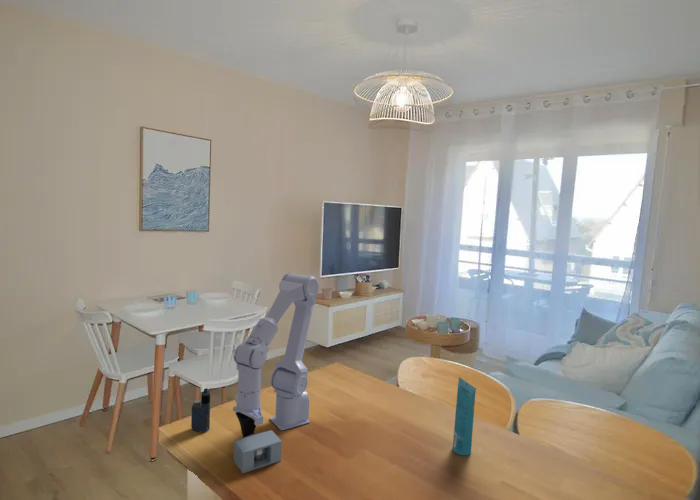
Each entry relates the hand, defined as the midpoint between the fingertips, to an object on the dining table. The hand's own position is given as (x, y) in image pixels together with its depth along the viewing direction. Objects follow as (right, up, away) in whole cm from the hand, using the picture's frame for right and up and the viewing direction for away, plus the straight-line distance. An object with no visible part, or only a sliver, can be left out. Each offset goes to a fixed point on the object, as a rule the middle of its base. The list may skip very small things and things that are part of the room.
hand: (247, 438), depth 108 cm
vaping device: (-15, -1, +8) cm, 17 cm away
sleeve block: (+4, -3, -5) cm, 7 cm away
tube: (+57, -5, +4) cm, 58 cm away
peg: (+3, -2, -4) cm, 5 cm away
